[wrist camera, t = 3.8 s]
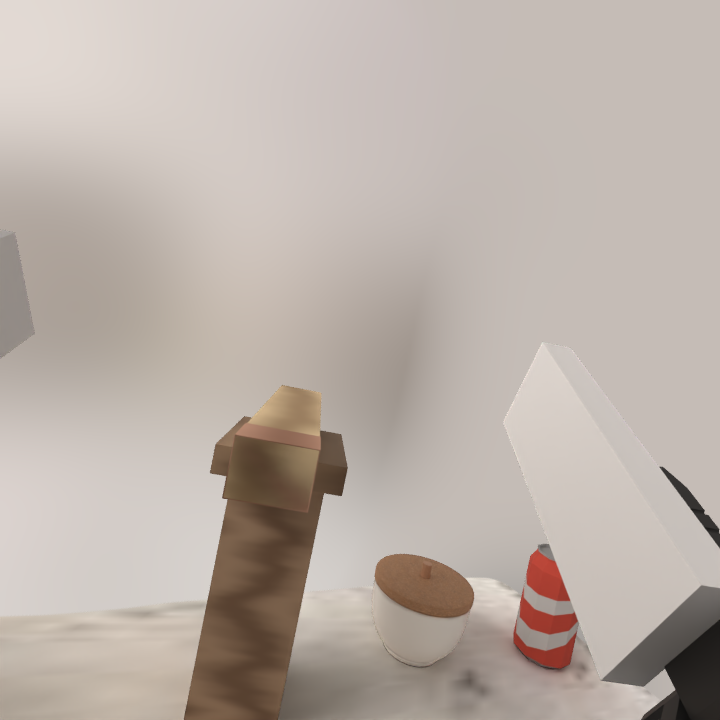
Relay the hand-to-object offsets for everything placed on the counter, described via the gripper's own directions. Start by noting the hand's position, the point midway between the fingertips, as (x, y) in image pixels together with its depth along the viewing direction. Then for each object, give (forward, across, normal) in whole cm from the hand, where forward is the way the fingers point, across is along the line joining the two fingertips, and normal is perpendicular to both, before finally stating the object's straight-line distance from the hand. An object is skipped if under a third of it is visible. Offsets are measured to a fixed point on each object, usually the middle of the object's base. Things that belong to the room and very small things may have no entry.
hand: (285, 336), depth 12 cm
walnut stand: (+6, 0, -38) cm, 39 cm away
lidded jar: (+15, +16, -44) cm, 50 cm away
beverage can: (+17, +32, -45) cm, 58 cm away
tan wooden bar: (+15, 0, -18) cm, 23 cm away
